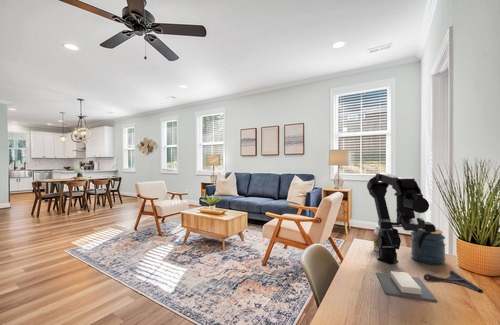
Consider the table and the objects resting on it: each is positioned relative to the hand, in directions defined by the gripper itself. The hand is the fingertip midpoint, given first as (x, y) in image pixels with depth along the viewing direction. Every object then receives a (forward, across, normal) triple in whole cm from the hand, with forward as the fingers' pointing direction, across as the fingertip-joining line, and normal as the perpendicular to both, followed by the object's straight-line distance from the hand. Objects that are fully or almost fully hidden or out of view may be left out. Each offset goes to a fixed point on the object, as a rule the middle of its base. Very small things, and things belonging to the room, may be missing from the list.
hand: (405, 246), depth 93 cm
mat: (+12, -4, -9) cm, 16 cm away
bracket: (+13, +13, +1) cm, 19 cm away
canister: (+12, +15, +22) cm, 29 cm away
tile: (+10, -4, -4) cm, 11 cm away
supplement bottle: (+12, -4, +29) cm, 32 cm away
